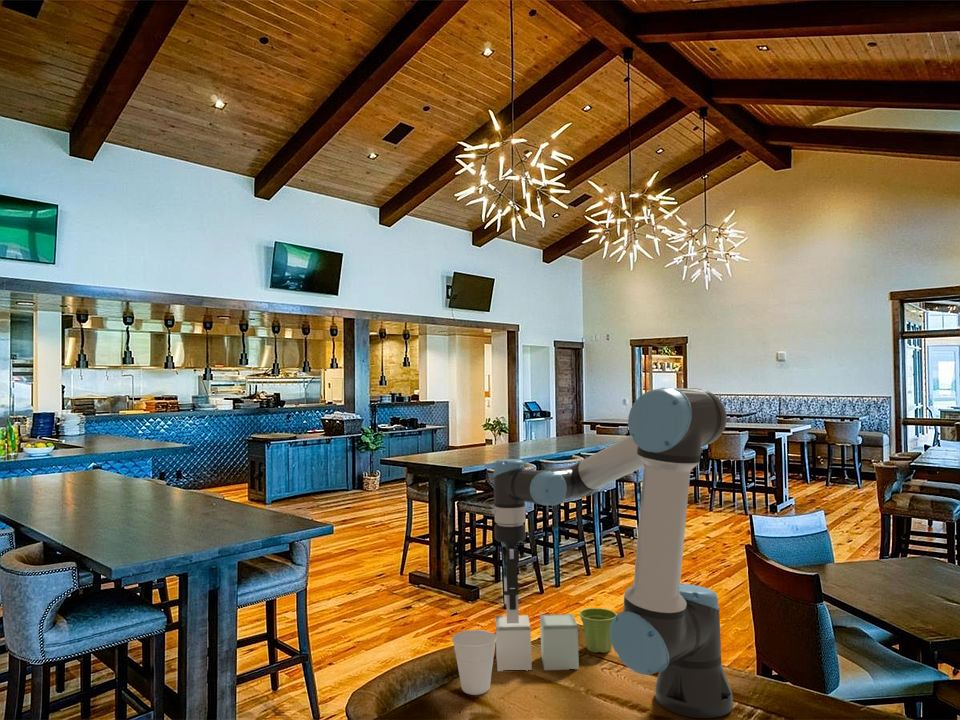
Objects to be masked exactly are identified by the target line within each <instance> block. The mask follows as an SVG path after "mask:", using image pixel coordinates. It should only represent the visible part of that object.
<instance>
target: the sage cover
mask: <svg viewBox="0 0 960 720" xmlns="http://www.w3.org/2000/svg"><path fill="white" fill-rule="evenodd" d="M539 620H540V621H539V625H540V627H539V629H540V658H541V660H542V666H543V669H544V671H566V670H568V671H570V670H569V669H575V670H580V662H579V635H578V634H579V631H578V630H579V628H578V623H577V622H576V621H577V620H576V619H575V617H574V614H573V613H567V614H566V613H564V614H563V613H561V614H558V613H557V614H539Z"/></svg>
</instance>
